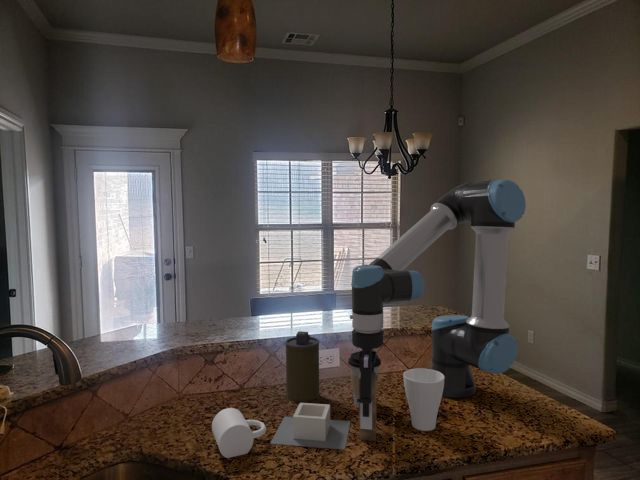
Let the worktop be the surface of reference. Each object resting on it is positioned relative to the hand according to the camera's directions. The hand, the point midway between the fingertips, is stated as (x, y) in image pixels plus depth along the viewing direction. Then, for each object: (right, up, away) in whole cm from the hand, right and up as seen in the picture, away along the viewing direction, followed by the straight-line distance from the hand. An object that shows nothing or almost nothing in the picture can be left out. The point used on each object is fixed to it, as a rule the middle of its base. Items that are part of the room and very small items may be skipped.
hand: (367, 416), depth 107 cm
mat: (-14, -6, +3) cm, 15 cm away
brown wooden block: (0, -6, 0) cm, 6 cm away
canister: (-17, -5, +26) cm, 31 cm away
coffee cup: (+1, -5, +18) cm, 19 cm away
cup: (+15, -5, +7) cm, 18 cm away
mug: (-31, -7, -2) cm, 32 cm away
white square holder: (-14, -5, +3) cm, 15 cm away
